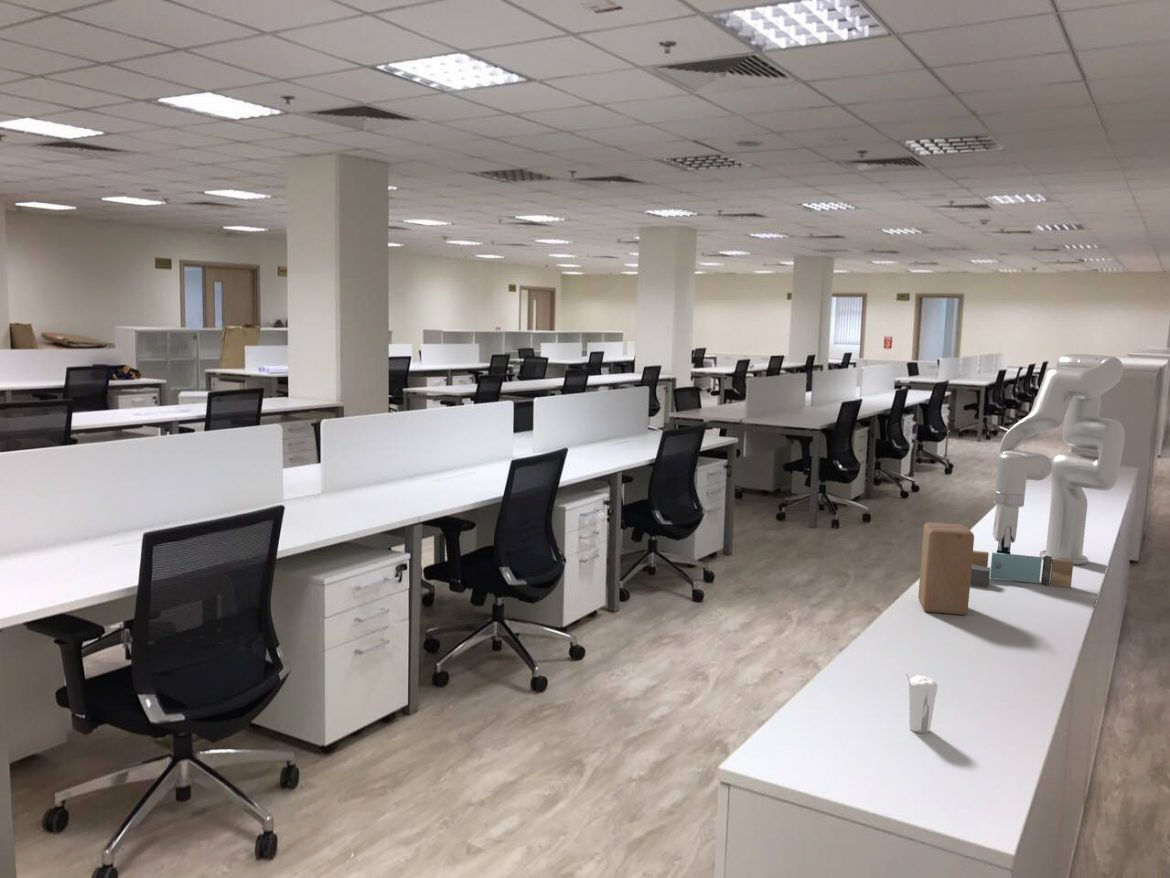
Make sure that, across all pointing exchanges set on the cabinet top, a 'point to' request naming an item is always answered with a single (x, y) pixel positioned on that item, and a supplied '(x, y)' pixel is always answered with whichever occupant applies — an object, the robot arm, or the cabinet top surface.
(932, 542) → the wooden block
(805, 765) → the cabinet top surface
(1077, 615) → the cabinet top surface
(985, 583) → the charcoal brick
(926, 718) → the milkshake
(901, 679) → the cabinet top surface
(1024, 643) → the cabinet top surface
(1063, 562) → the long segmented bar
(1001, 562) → the door
